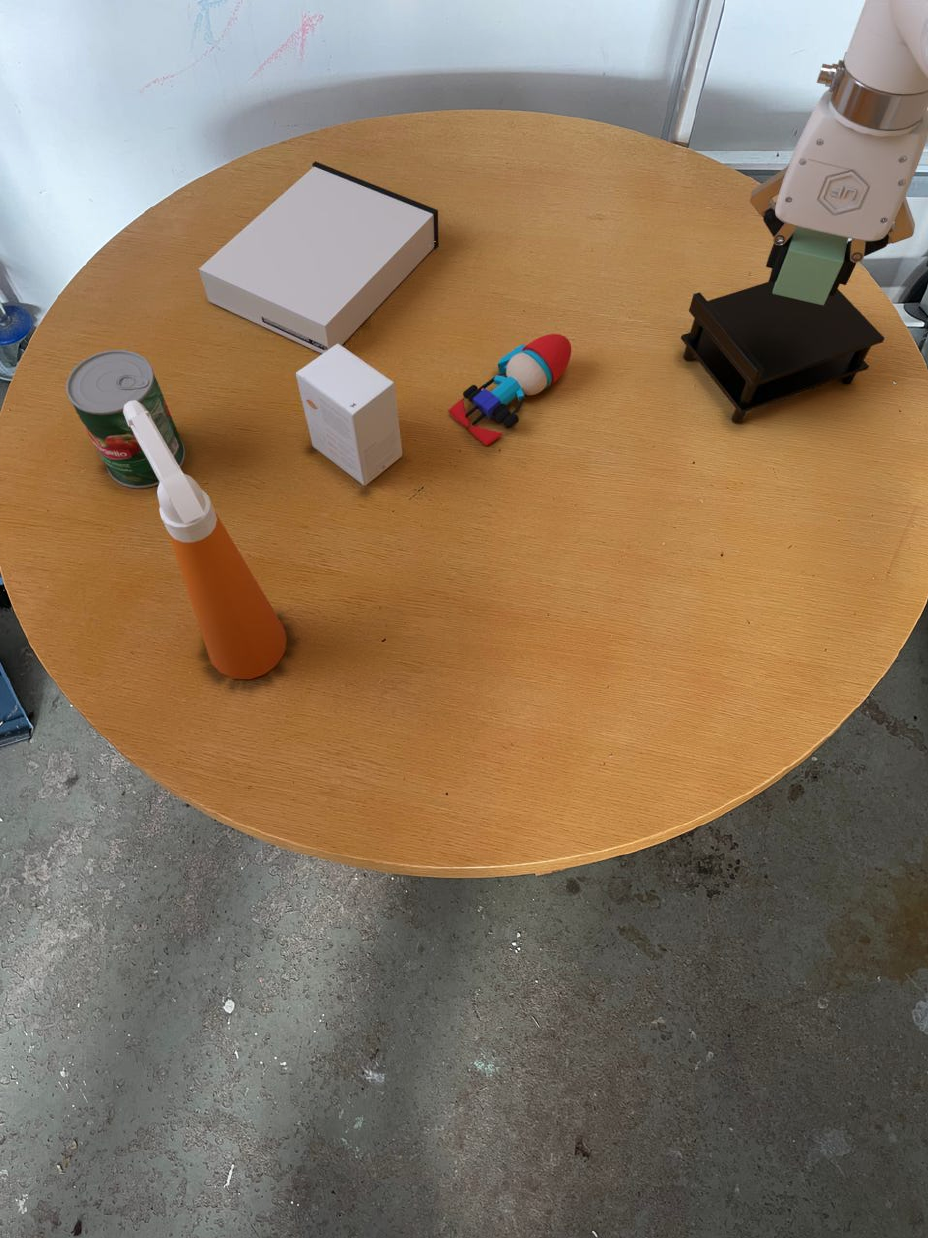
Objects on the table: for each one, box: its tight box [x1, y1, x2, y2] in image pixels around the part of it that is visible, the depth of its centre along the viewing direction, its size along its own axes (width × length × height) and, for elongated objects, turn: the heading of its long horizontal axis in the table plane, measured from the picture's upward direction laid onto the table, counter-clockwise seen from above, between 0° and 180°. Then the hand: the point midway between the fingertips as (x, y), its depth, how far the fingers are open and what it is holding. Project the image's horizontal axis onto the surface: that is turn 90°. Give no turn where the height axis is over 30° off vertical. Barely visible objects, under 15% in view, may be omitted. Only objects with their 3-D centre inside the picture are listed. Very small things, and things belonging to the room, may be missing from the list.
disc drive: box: [198, 161, 440, 355], centre depth 101 cm, size 18×22×5 cm
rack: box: [680, 281, 885, 425], centre depth 92 cm, size 16×12×8 cm
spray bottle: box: [123, 400, 288, 680], centre depth 68 cm, size 7×11×26 cm, turn 33°
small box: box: [295, 344, 403, 487], centre depth 85 cm, size 8×6×10 cm
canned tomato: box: [65, 349, 186, 489], centre depth 84 cm, size 8×8×11 cm
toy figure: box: [448, 333, 572, 447], centre depth 92 cm, size 8×5×15 cm
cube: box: [773, 227, 849, 305], centre depth 84 cm, size 5×5×5 cm
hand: (803, 278), depth 85 cm, fingers closed on cube, 5 cm apart
